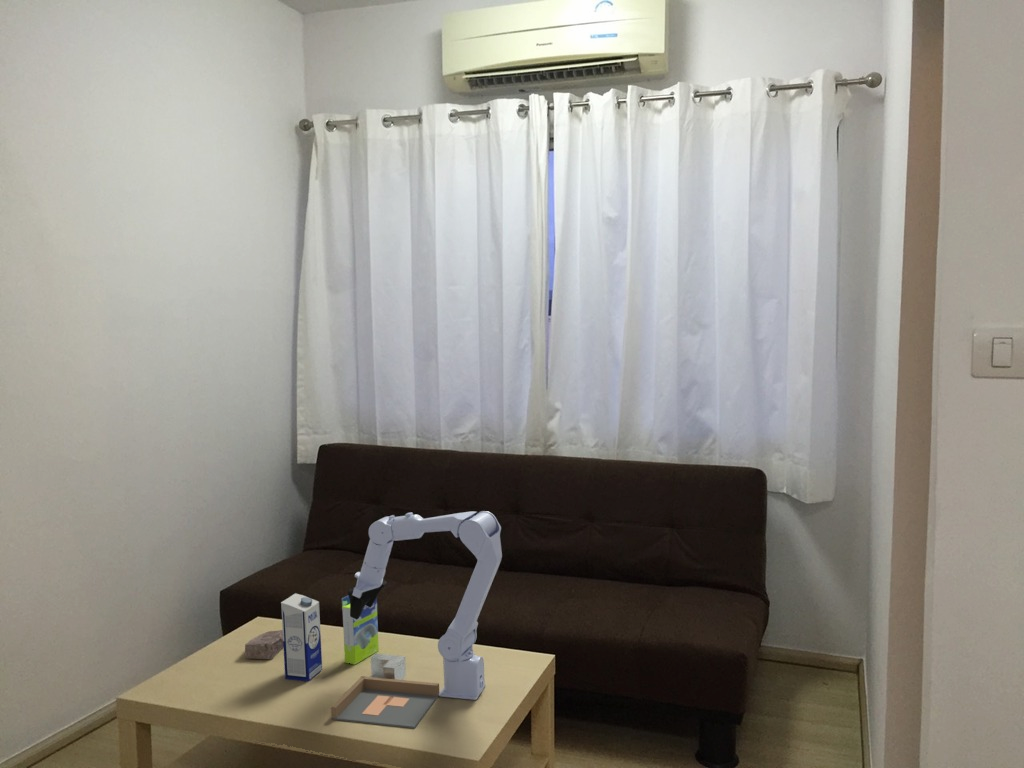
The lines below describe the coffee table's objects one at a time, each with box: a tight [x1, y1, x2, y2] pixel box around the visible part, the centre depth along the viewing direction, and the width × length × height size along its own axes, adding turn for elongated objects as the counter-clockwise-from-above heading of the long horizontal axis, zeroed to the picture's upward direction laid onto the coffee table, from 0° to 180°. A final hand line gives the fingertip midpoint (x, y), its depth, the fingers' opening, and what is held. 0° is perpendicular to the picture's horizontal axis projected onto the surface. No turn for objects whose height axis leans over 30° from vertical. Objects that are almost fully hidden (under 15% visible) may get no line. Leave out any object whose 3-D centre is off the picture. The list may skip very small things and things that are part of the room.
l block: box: [370, 653, 407, 680], centre depth 203 cm, size 8×7×5 cm
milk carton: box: [280, 592, 323, 682], centre depth 207 cm, size 7×7×20 cm
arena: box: [330, 675, 440, 730], centre depth 189 cm, size 20×16×3 cm
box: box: [341, 595, 380, 665], centre depth 217 cm, size 10×4×17 cm, turn 151°
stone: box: [244, 629, 284, 660], centre depth 223 cm, size 12×9×5 cm
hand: (360, 611), depth 204 cm, fingers open, 7 cm apart
